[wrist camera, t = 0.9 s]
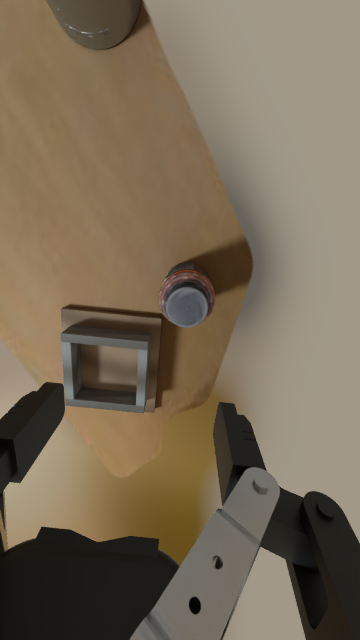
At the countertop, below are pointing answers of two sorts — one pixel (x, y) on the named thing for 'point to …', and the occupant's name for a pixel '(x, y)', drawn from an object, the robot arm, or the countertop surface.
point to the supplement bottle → (186, 295)
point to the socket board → (110, 359)
